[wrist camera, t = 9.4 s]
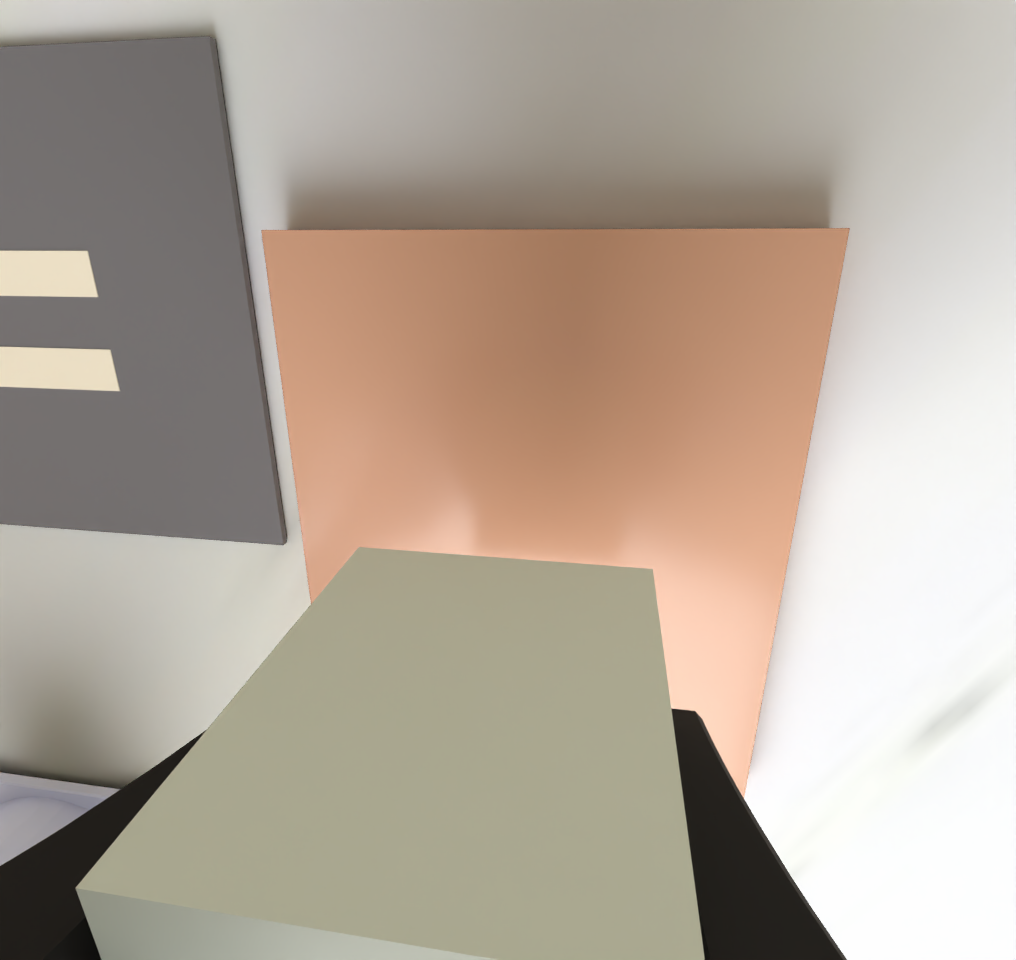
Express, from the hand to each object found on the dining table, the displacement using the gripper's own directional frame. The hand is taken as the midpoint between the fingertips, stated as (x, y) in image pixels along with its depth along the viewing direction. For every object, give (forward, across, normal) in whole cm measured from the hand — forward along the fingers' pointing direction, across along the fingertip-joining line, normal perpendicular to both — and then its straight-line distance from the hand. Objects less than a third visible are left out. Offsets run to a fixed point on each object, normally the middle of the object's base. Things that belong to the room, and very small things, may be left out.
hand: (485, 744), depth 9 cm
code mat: (+6, +12, -5) cm, 15 cm away
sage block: (+1, 0, 0) cm, 1 cm away
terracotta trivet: (+6, 0, 0) cm, 6 cm away
